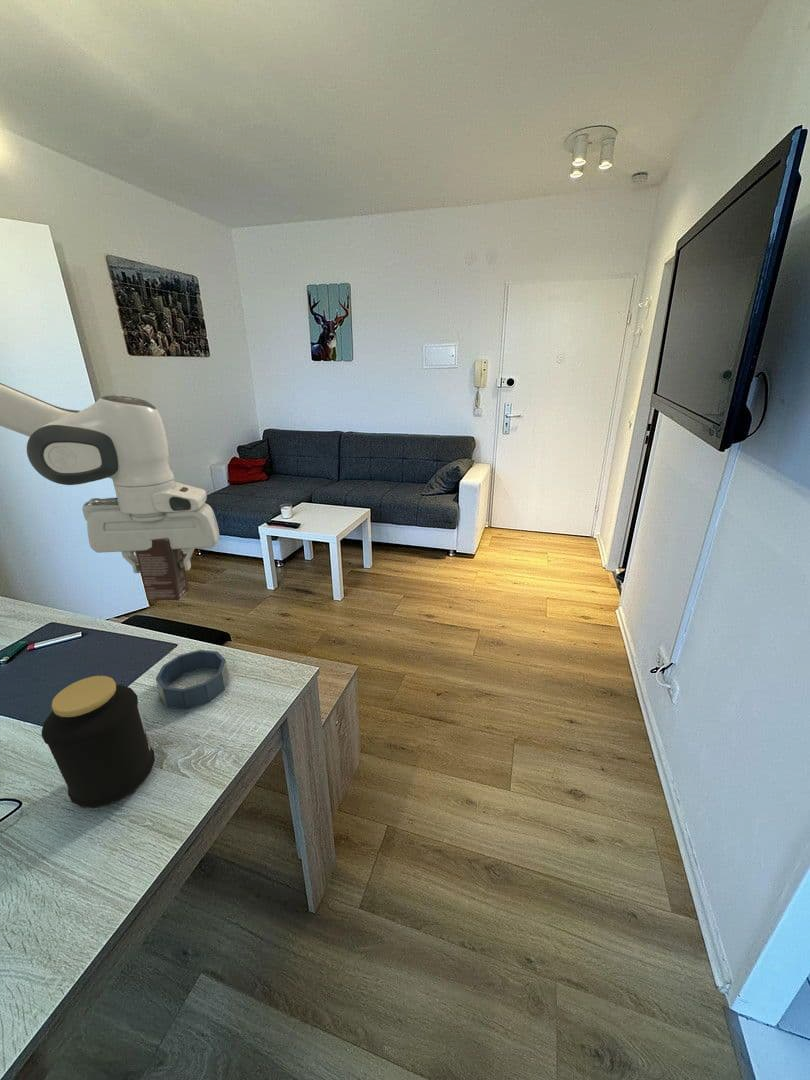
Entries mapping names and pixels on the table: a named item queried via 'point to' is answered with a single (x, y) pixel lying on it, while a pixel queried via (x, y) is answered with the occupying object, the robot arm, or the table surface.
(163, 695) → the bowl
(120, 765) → the container
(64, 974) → the table surface
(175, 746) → the table surface
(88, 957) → the table surface
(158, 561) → the box
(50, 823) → the table surface
